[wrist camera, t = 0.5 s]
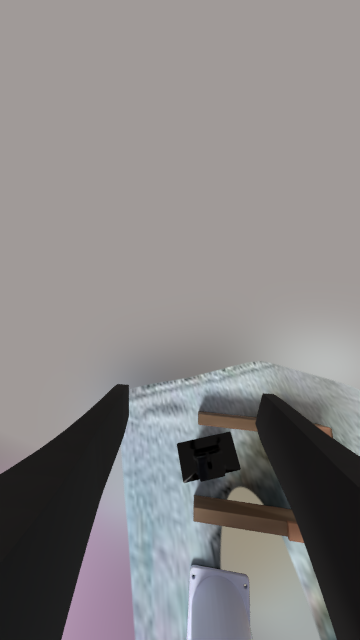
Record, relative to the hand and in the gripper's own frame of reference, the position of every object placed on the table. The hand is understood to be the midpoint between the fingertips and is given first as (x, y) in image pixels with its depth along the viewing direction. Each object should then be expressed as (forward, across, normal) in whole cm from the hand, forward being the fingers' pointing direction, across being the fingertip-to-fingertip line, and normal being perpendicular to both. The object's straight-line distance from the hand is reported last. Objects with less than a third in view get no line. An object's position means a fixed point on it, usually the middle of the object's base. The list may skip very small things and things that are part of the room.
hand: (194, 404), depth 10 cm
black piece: (+15, -6, +23) cm, 28 cm away
